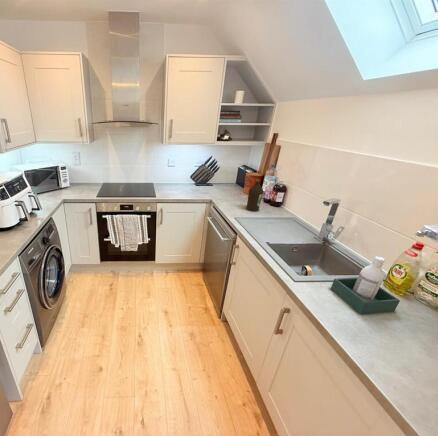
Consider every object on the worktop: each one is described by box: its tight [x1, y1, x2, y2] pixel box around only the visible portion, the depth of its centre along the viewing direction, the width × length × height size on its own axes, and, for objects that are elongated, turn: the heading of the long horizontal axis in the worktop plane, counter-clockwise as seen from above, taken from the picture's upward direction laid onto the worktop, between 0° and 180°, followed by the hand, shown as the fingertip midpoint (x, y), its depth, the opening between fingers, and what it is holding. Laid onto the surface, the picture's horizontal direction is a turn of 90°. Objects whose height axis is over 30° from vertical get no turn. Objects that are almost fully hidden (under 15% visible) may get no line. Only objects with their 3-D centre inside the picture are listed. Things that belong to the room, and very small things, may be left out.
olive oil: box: [246, 178, 264, 212], centre depth 190 cm, size 11×11×25 cm
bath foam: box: [352, 255, 386, 301], centre depth 95 cm, size 7×7×20 cm
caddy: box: [330, 276, 401, 315], centre depth 98 cm, size 15×15×6 cm
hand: (428, 239), depth 85 cm, fingers open, 8 cm apart
